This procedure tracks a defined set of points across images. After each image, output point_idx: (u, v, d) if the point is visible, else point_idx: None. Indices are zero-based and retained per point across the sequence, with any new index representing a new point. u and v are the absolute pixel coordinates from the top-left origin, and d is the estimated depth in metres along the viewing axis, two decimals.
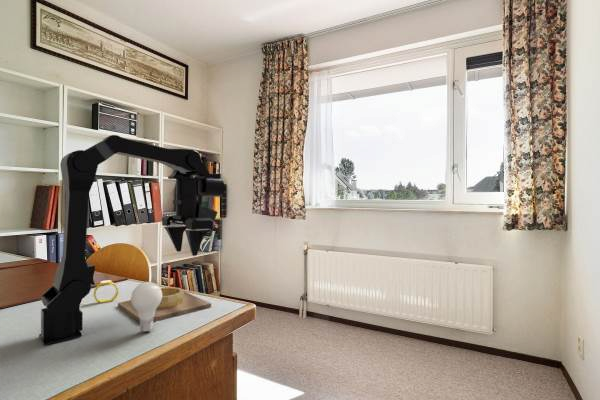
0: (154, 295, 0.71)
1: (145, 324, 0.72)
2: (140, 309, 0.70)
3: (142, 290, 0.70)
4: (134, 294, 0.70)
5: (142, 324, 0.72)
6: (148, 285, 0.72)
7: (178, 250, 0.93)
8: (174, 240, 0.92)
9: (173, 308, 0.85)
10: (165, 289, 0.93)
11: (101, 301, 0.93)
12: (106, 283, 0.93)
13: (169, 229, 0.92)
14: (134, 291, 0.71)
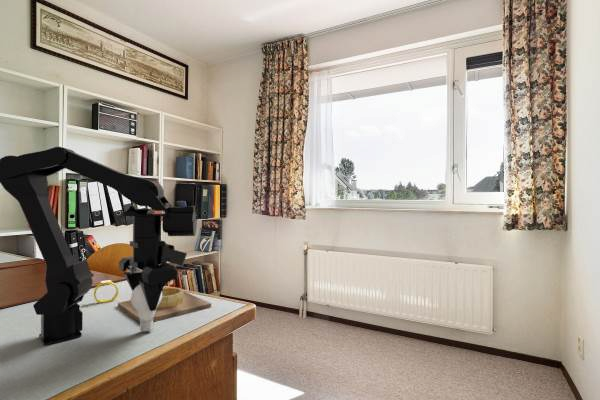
0: None
1: (145, 324, 0.72)
2: (140, 309, 0.70)
3: None
4: (133, 294, 0.70)
5: (142, 324, 0.72)
6: None
7: None
8: None
9: (173, 308, 0.85)
10: (165, 289, 0.93)
11: (101, 301, 0.93)
12: (106, 283, 0.93)
13: (128, 277, 0.74)
14: (134, 291, 0.71)
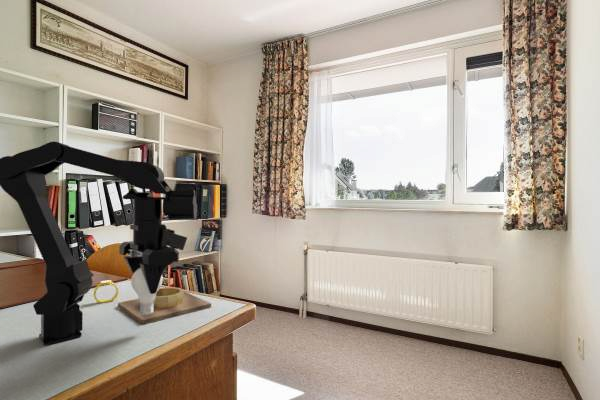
0: None
1: (145, 307, 0.72)
2: (140, 292, 0.70)
3: None
4: (134, 277, 0.70)
5: (142, 307, 0.72)
6: None
7: None
8: None
9: (173, 308, 0.85)
10: (165, 289, 0.93)
11: (101, 301, 0.93)
12: (106, 283, 0.93)
13: (129, 260, 0.74)
14: (134, 274, 0.71)
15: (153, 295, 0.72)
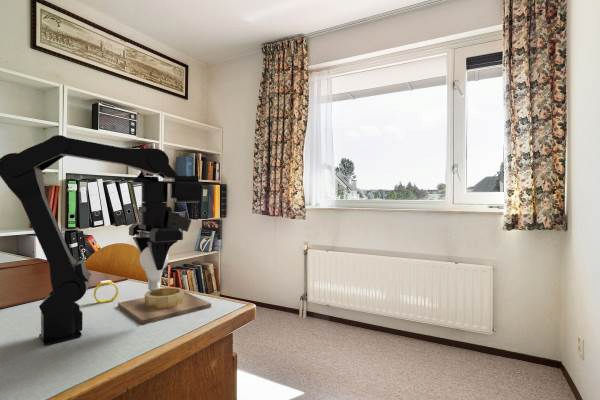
0: None
1: (153, 283, 0.77)
2: (148, 268, 0.76)
3: None
4: (142, 255, 0.76)
5: (150, 283, 0.77)
6: None
7: None
8: None
9: (173, 308, 0.85)
10: (165, 289, 0.93)
11: (101, 301, 0.93)
12: (106, 283, 0.93)
13: (137, 240, 0.79)
14: (142, 252, 0.77)
15: (160, 272, 0.78)
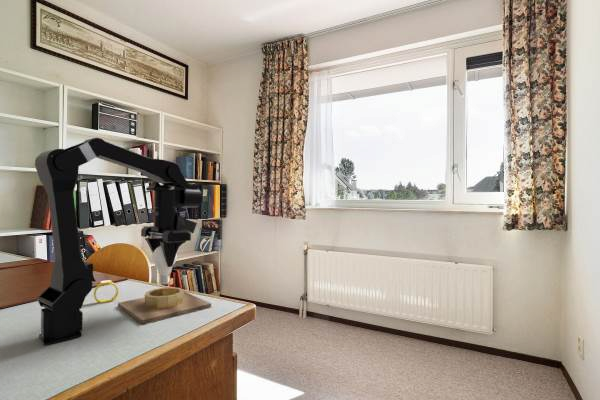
0: None
1: (163, 278, 0.89)
2: (160, 265, 0.87)
3: None
4: (155, 253, 0.87)
5: (161, 278, 0.89)
6: None
7: None
8: None
9: (173, 308, 0.85)
10: (165, 289, 0.93)
11: (101, 301, 0.93)
12: (106, 283, 0.93)
13: (149, 241, 0.91)
14: (155, 251, 0.88)
15: (170, 268, 0.89)
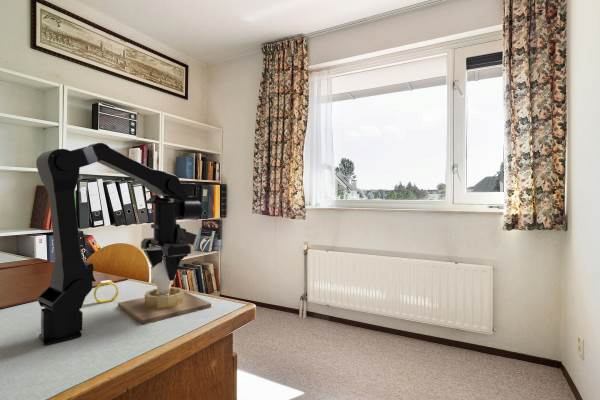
0: None
1: (163, 295, 0.89)
2: (159, 282, 0.88)
3: (161, 267, 0.88)
4: (153, 271, 0.88)
5: (160, 295, 0.89)
6: None
7: None
8: (153, 264, 0.92)
9: (173, 308, 0.85)
10: None
11: (101, 301, 0.93)
12: (106, 283, 0.93)
13: (148, 253, 0.91)
14: (154, 268, 0.89)
15: (169, 285, 0.90)
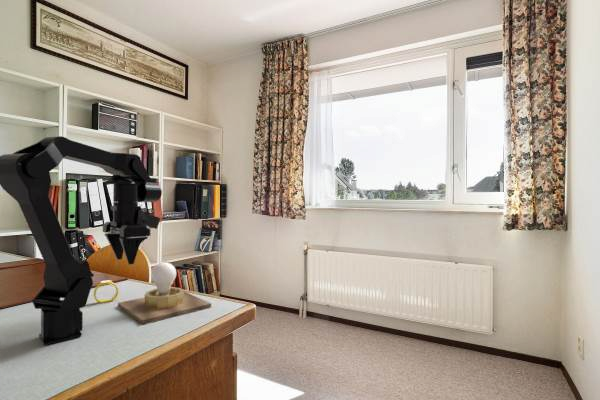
0: (170, 273, 0.88)
1: None
2: (159, 283, 0.88)
3: (161, 269, 0.88)
4: (153, 272, 0.88)
5: None
6: (165, 265, 0.89)
7: (119, 258, 0.89)
8: (114, 247, 0.89)
9: (173, 308, 0.85)
10: None
11: (101, 301, 0.93)
12: (106, 283, 0.93)
13: (108, 236, 0.88)
14: (154, 269, 0.88)
15: (169, 286, 0.89)
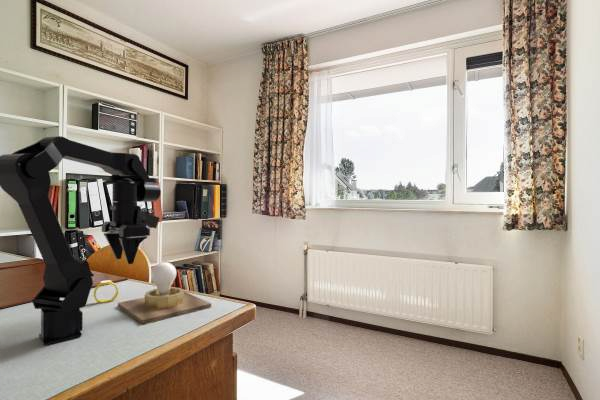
0: (170, 272, 0.89)
1: None
2: (159, 283, 0.88)
3: (161, 268, 0.88)
4: (154, 271, 0.88)
5: None
6: (165, 264, 0.89)
7: (118, 257, 0.89)
8: (113, 247, 0.89)
9: (173, 308, 0.85)
10: None
11: (101, 301, 0.93)
12: (106, 283, 0.93)
13: (108, 236, 0.88)
14: (154, 269, 0.88)
15: (169, 286, 0.90)
